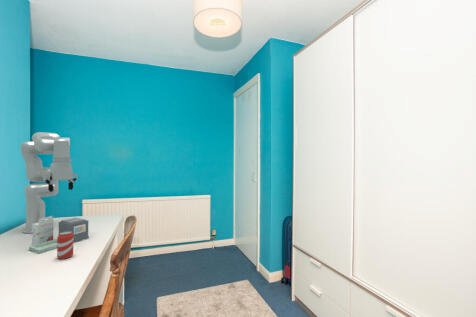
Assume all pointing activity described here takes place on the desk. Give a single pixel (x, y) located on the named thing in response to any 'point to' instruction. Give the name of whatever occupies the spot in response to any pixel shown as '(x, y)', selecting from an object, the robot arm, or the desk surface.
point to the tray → (44, 247)
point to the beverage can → (65, 244)
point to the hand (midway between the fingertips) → (61, 190)
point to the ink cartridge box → (42, 231)
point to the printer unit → (75, 228)
